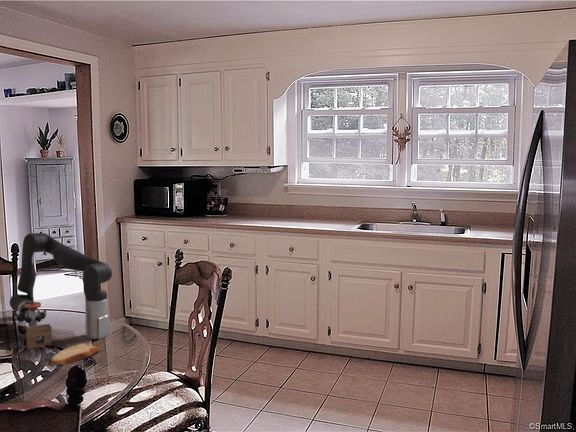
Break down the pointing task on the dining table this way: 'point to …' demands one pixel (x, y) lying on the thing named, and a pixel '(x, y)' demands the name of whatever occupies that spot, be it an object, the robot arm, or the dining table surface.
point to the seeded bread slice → (74, 354)
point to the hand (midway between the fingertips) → (34, 320)
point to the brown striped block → (38, 331)
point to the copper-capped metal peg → (33, 312)
